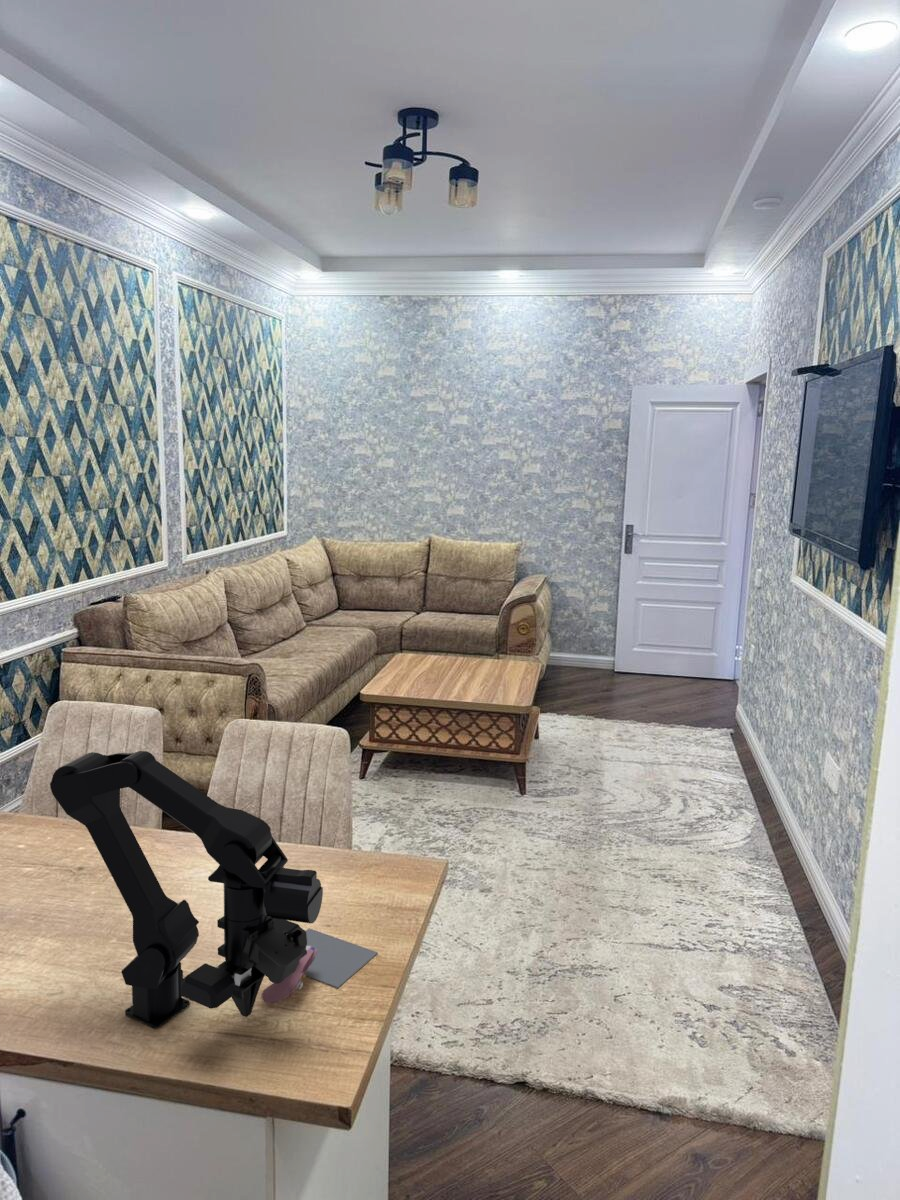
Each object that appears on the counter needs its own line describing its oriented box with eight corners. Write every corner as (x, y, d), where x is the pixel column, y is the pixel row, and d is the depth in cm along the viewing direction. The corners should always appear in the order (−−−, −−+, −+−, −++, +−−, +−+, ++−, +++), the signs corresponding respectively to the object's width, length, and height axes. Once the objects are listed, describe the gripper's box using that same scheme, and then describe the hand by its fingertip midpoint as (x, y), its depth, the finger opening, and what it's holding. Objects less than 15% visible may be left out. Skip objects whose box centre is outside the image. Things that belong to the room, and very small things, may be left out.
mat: (337, 988, 128) (337, 987, 128) (266, 960, 134) (266, 959, 134) (377, 953, 137) (378, 952, 137) (309, 929, 144) (309, 928, 144)
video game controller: (283, 1018, 123) (304, 982, 121) (257, 1001, 123) (277, 965, 122) (308, 977, 132) (327, 944, 131) (283, 961, 133) (302, 928, 131)
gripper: (243, 962, 104) (243, 1076, 107) (333, 898, 121) (332, 998, 123) (177, 936, 110) (179, 1045, 112) (272, 878, 126) (272, 974, 128)
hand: (245, 1015), depth 119 cm, fingers closed
